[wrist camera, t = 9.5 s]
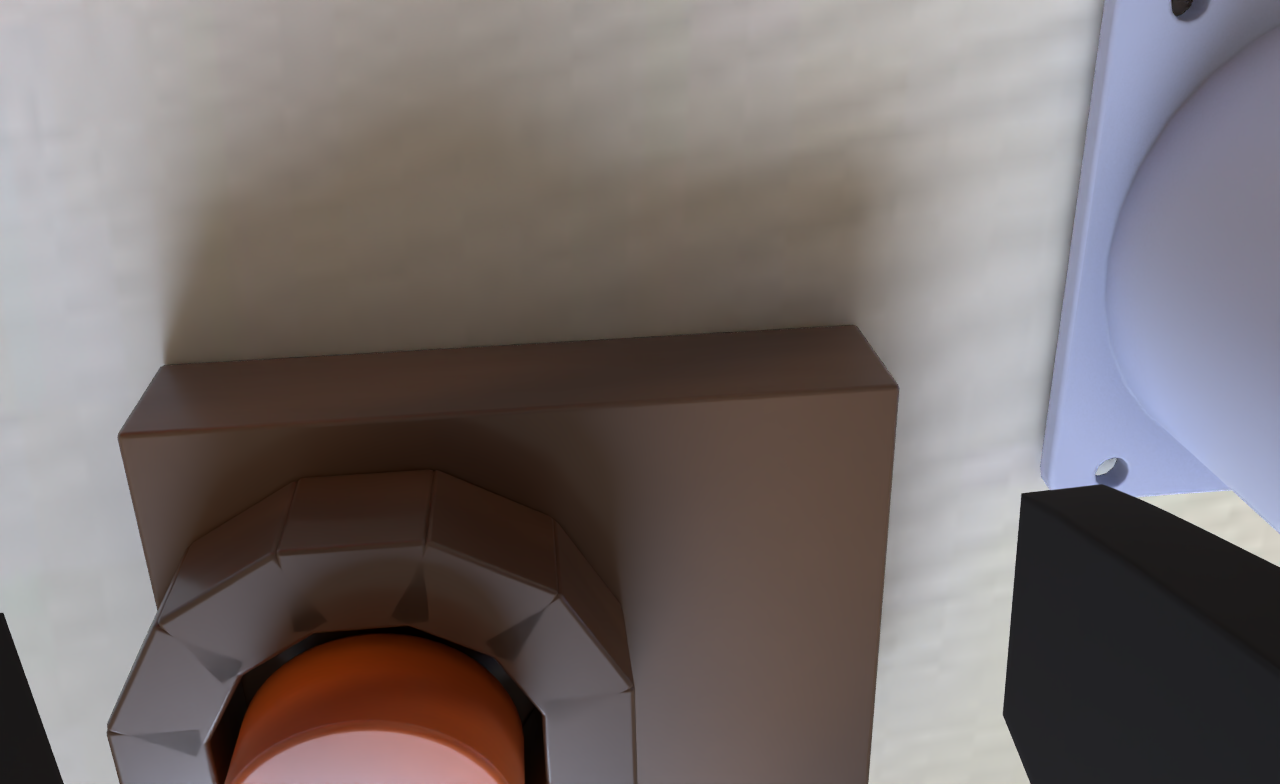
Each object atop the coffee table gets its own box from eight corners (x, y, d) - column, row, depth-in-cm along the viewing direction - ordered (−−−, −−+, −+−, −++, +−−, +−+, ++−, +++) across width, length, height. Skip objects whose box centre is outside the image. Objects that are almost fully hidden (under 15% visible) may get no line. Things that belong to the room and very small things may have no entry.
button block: (857, 322, 18) (947, 449, 14) (831, 745, 21) (898, 934, 18) (141, 364, 17) (43, 510, 13) (234, 797, 20) (176, 1007, 17)
